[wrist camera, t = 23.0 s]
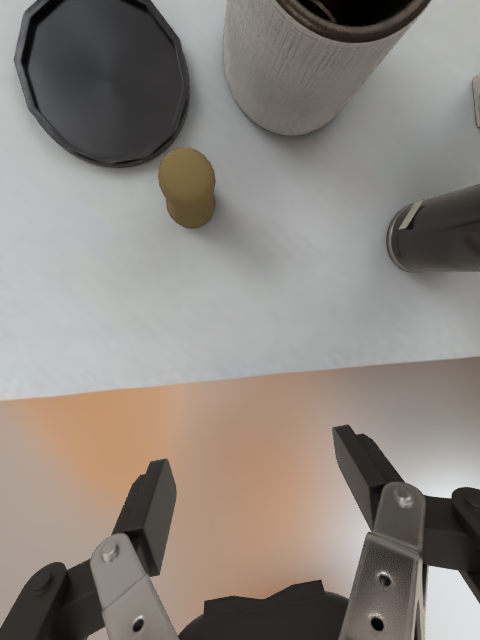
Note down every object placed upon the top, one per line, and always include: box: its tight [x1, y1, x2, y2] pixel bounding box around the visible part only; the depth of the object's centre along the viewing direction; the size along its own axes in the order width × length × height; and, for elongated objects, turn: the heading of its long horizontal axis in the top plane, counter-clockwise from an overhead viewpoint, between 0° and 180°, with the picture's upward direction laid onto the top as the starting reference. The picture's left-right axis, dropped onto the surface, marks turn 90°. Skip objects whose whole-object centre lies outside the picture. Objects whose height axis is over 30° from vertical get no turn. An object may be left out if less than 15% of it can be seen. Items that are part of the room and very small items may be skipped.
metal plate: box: [14, 0, 190, 168], centre depth 32 cm, size 18×18×1 cm
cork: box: [158, 148, 215, 228], centre depth 30 cm, size 6×6×11 cm
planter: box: [223, 0, 432, 135], centre depth 27 cm, size 16×16×16 cm
